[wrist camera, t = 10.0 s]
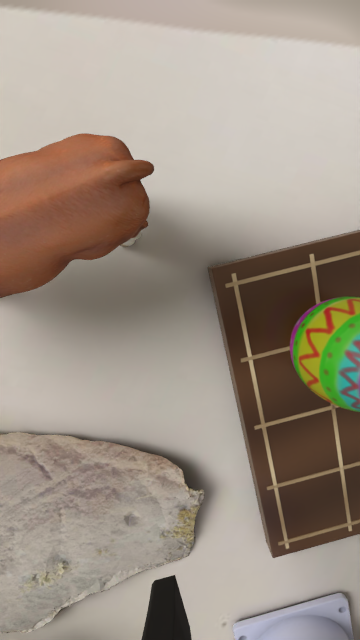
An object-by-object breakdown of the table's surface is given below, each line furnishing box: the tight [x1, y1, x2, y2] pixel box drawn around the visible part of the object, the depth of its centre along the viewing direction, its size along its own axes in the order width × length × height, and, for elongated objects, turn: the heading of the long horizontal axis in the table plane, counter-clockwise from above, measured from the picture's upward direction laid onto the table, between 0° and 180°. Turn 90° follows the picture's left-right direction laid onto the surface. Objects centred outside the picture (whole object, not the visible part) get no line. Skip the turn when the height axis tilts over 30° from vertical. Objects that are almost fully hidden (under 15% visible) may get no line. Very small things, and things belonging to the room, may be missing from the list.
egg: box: [290, 297, 360, 412], centre depth 14 cm, size 5×5×6 cm
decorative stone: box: [0, 432, 204, 633], centre depth 18 cm, size 20×14×1 cm
